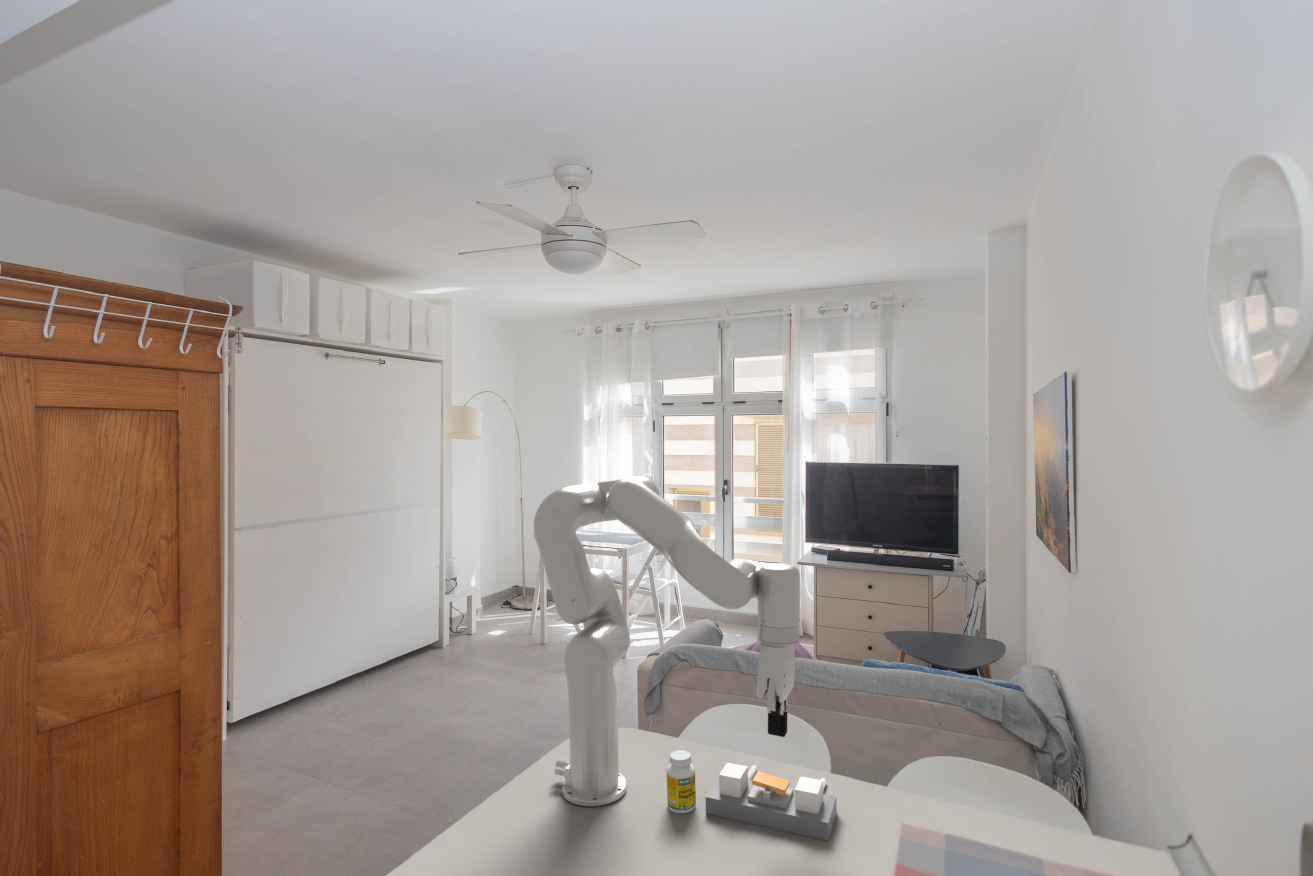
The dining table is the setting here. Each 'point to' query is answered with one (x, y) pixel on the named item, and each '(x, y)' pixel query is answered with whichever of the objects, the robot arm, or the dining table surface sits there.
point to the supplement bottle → (681, 783)
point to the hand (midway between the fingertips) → (777, 733)
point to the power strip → (773, 803)
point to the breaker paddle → (770, 782)
